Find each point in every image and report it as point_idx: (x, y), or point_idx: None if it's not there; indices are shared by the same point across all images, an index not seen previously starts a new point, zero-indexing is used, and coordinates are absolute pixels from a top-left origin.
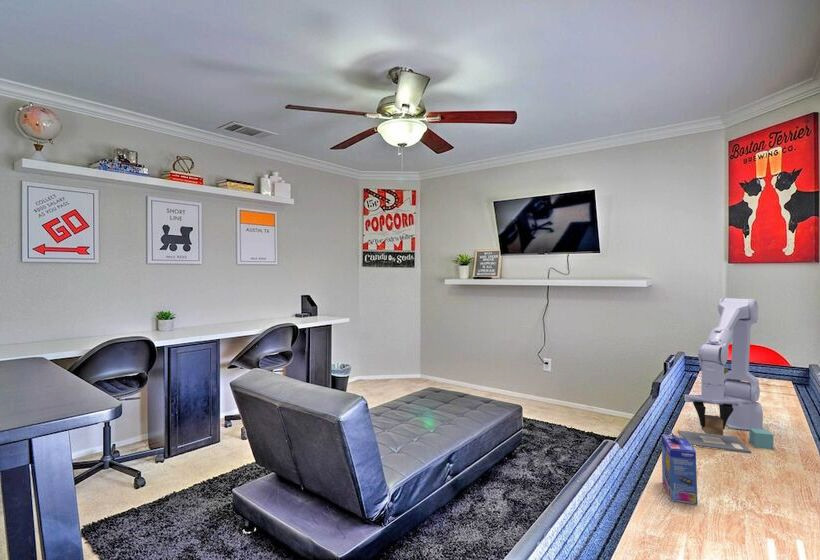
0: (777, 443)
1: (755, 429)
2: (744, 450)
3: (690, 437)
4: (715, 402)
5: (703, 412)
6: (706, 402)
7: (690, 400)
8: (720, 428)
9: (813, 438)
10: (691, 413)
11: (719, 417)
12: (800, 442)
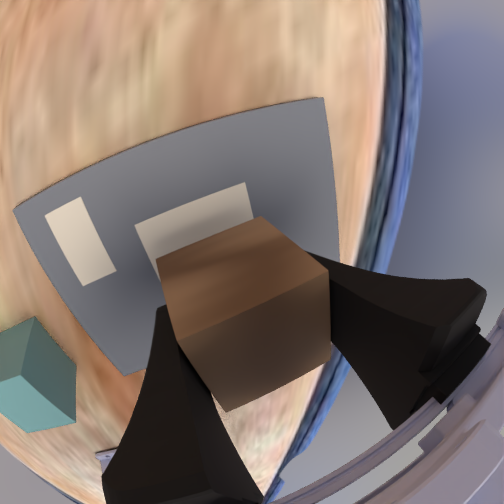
0: None
1: (49, 417)
2: (37, 195)
3: (304, 213)
4: (465, 460)
5: (387, 296)
6: (409, 428)
7: (501, 335)
8: (180, 280)
9: (17, 459)
10: (272, 442)
11: (216, 392)
12: (7, 433)
